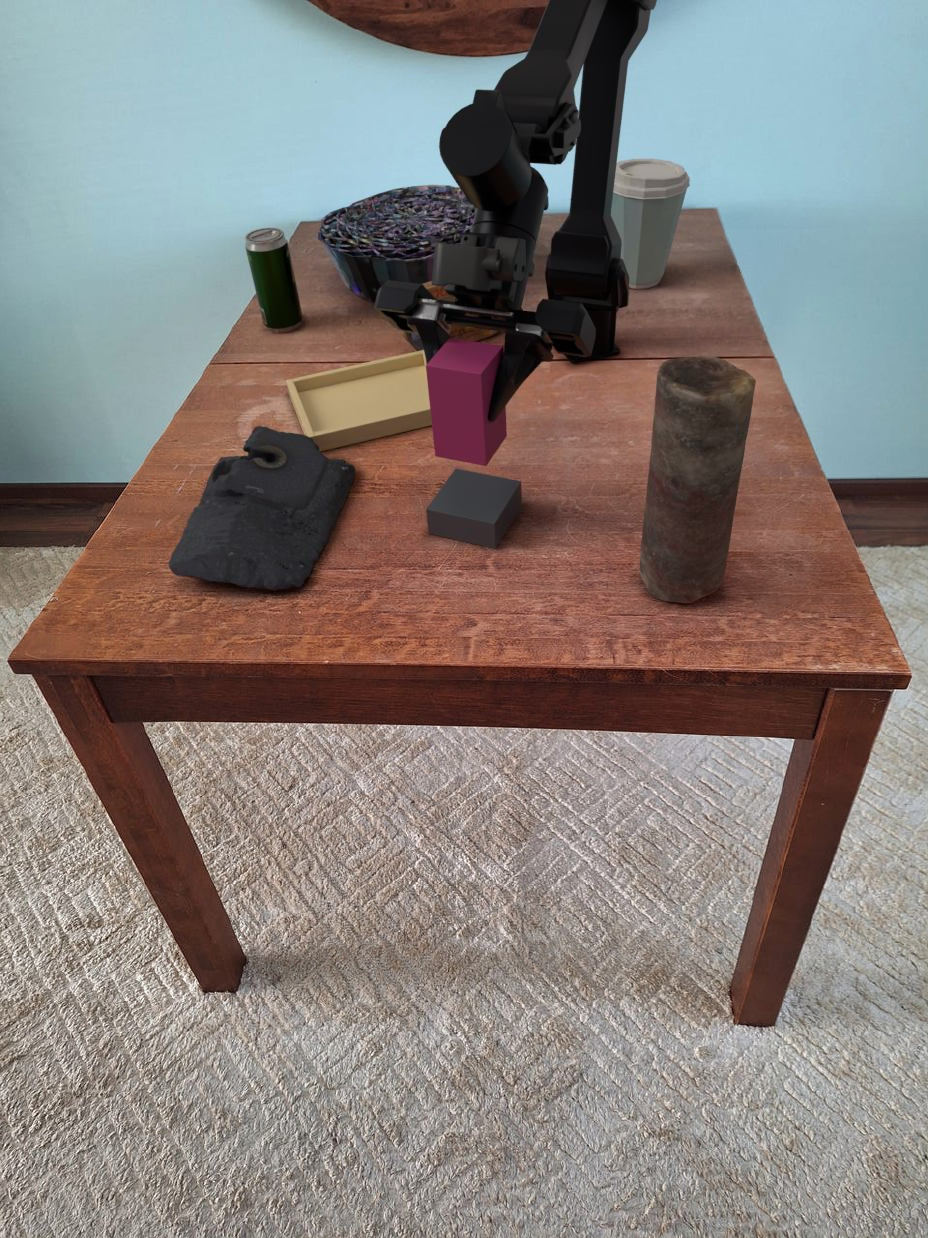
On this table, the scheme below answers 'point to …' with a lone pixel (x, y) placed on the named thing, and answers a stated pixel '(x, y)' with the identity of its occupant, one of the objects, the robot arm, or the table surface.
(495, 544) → the base block
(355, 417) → the tray
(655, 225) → the disposable coffee cup
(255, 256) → the beer can
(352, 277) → the decorative bowl
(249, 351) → the table surface
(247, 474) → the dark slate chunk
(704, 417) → the stone cylinder vase
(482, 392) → the mulberry block
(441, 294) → the tin
